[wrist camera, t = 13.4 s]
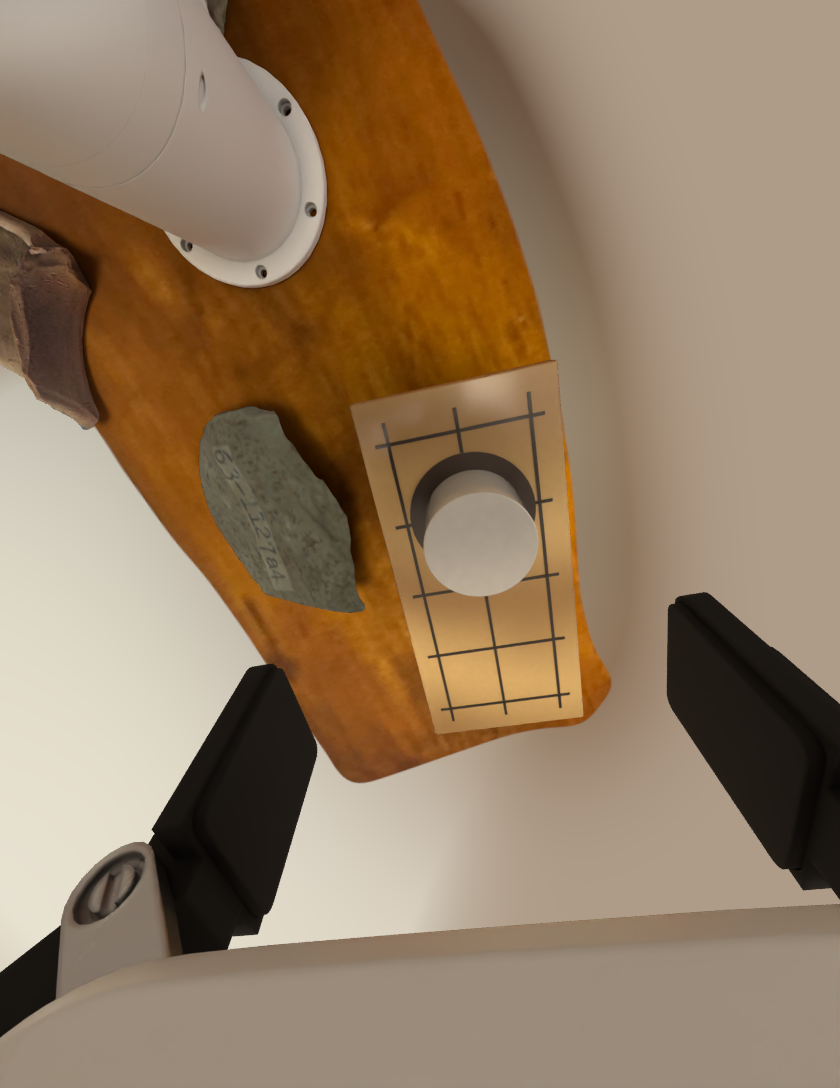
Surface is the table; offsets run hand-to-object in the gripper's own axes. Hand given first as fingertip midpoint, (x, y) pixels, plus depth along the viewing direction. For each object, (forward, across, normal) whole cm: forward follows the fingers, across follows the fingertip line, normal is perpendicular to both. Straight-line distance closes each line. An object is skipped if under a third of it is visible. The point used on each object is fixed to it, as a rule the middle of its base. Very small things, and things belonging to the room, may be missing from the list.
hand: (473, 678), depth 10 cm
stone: (+29, +16, +3) cm, 34 cm away
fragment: (+25, +32, -18) cm, 44 cm away
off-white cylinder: (+11, -1, 0) cm, 11 cm away
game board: (+29, -1, +4) cm, 29 cm away
